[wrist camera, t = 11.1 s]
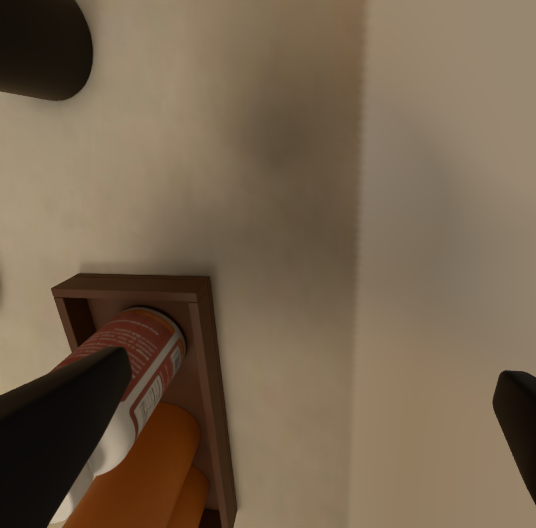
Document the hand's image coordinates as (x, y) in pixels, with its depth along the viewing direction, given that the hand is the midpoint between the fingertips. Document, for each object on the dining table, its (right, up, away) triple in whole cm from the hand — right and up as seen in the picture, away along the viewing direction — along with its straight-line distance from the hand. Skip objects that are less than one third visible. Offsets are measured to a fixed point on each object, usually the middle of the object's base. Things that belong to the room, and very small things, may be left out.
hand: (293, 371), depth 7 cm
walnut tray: (-9, -10, +19) cm, 24 cm away
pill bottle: (-10, -3, +16) cm, 19 cm away
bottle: (-9, -12, +19) cm, 24 cm away
